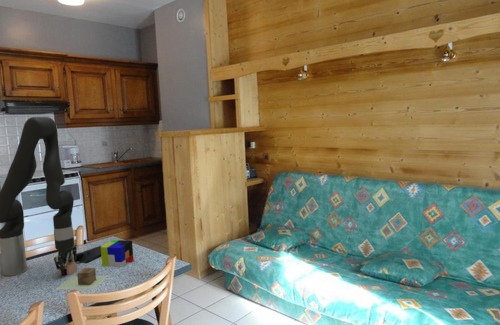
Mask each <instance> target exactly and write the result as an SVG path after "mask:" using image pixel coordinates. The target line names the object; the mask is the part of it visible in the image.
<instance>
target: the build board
mask: <svg viewBox="0 0 500 325" xmlns="http://www.w3.org/2000/svg"><path fill="white" fill-rule="evenodd" d="M107 278H108V275H96V280H95V281H94V282H93V283H92V284H91V285H78V277H77V275H72V276H71V275H70V277H69V278H67V279H66V280H65V281H64V282H63V283H61V284H60V285H59V286H58V287H56V288H55V290H58V291H59V290H96V288H98V287H99V286H100V284H101V283H103V281H104V280H106V279H107Z"/></svg>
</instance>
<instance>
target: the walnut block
mask: <svg viewBox="0 0 500 325" xmlns="http://www.w3.org/2000/svg"><path fill="white" fill-rule="evenodd" d="M76 274H77V275H76V276H77V277H78V285H91V284H92V283H93V282H94V281H95V280H96V276H97V272H96V267H83V268H81V269H80V271H78V272H77V273H76Z"/></svg>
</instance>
